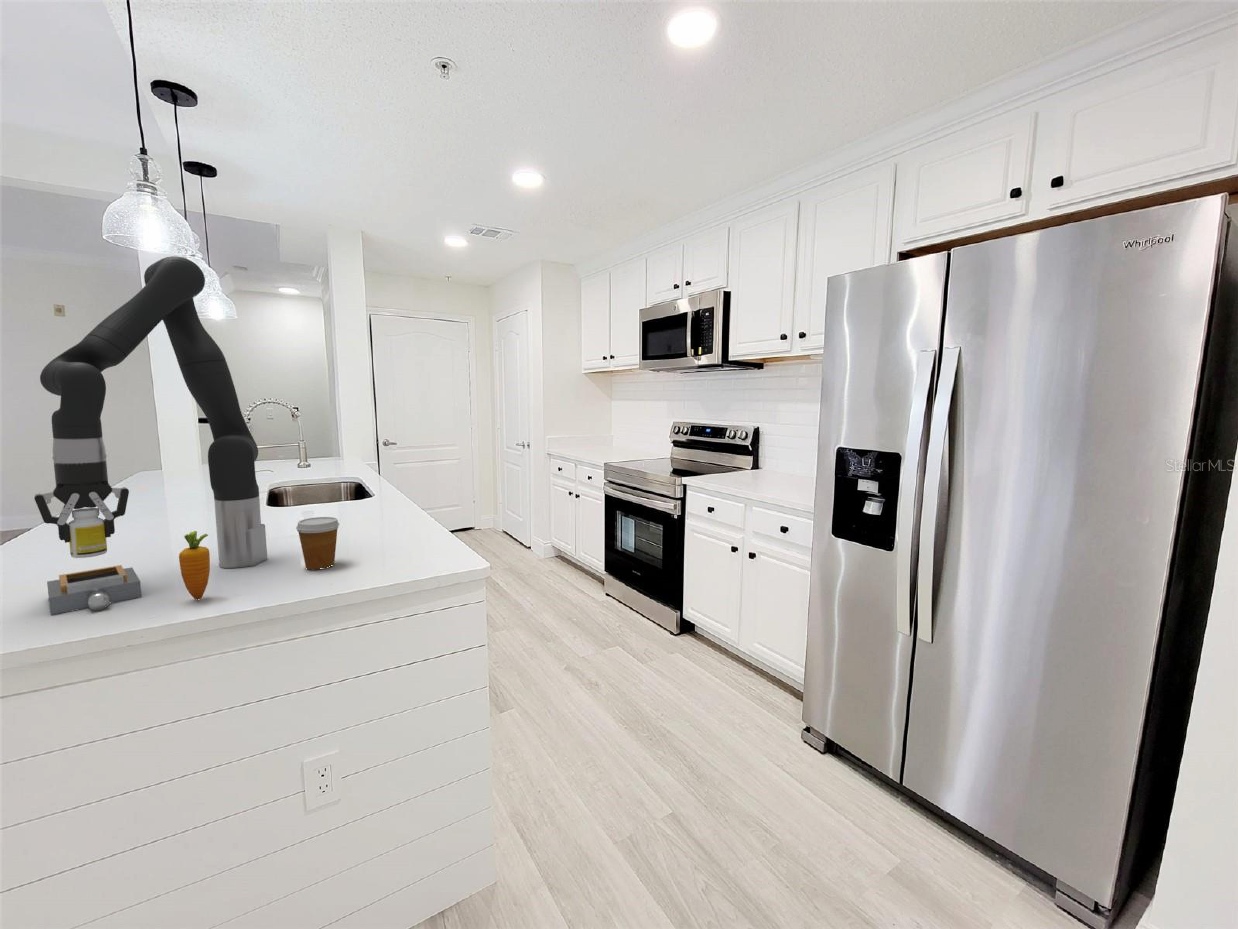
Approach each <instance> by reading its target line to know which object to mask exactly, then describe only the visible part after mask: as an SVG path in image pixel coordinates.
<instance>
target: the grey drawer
mask: <svg viewBox="0 0 1238 929" xmlns="http://www.w3.org/2000/svg"><path fill="white" fill-rule="evenodd" d="M46 586H47V593H48V595H47V596H48V604H49V611H50V612H49V614H50V616H54V615H58V614H59V613H60V614H63V613H68V611H70V612H73V611H72V610H75V611H77V610H76V609H80V610H83V609H84V610H85V609H88V608H89V609H91V610H93V611H102V610H105V609H106V608H107V607H108V606H109V605H110V604H111V603H110V602H114V603H118V602H117V601H119V602H123V601H122V600H124V601H126V600H125V599H129V600H133V598H134V599H137V598H136V597H139V598H142V597H143V596H142V595H143V594H142V585H141V580H140V578H139V577H138V575H137V573H136V571H135V569H134V568H133V567H126V568H124V567H123V565H121V564H120V565H114V566H107V567H102V568H95V569H89V570H83V571H77V572H70V573H65V574H58V579H54V580H49V581H46ZM141 596H142V597H141Z"/></svg>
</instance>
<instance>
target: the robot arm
mask: <svg viewBox="0 0 1238 929" xmlns="http://www.w3.org/2000/svg"><path fill="white" fill-rule="evenodd" d="M143 278H144V284H145V285H144V286H143V287H142V288H141V290H139V291H138V293H136V294H135V295H134V296H132V298H130V299H128V301H127V302H125V303H124V304H122V305H121V306H120V307H118V308H117V309H115V310H114V311H112V312H111V313H110V314H109V315H108V316H107V317H105V318H104V319H103V320H102V321H101V322H99V323H98V324H97V325H96V326H95V327H94V328H92V330H91V331H90V332H89V333H87V335H85V336H84V338H83V339H82V340H81V341H80V342H78V343H76V344H74V345H73V346H72V347H70V348H68V349H67V350H65V351H64V352H62V353H60V354H59V355H58V356H56V357H54V358H53V359H52V360H51V361H49V363H47V364H46V365H44V368H43V369H42V370H41V372H40V375H39V381H40V385H41V386H42V387H43V388H44V389H45V390H46V391H47V392H49V393H50V394H52V395H55V396H58V397H60V400H59V401H60V405H59V408H58V409H56V410H55V411H53V412H52V415H51V432H52V460H53V469H54V480H55V487H54V489H53V491H50V492H45V493H37V494H35V495H34V502H35V504H36V506H37V509H38V511H39V513H40V515H41V519H42V520H43V523H45V524H52V525H56V526H57V530H58V539H59V540H60V541H64V543H65V544H66V543H69V542H70V540H69V530H68V523H69V522H68V520H69V517H70V515H72V511H73V510H76V509H83V508H98V509H99V512H101V514H102V515H103V517H104V518H103V520H104V521H105V531H106V539H107V538H111V537H112V536H111V535H114V534H115V532H116V529H115V519H116V518H119V517H124V516H125V514H126V511H127V505H128V499H129V495H130V494H129V493H130V490H129V489H128V488H127V487H125V486H123V487H112V486H111V485H110V483H109V476H108V475H109V474H108V466H107V454H106V446H105V443H104V438H103V428H102V419H101V415H102V412H103V410H104V409H103V408H104V405H105V399H106V393H107V383H106V380H105V378H104V376H103V374H102V372H103V371H104V370H106V369H107V370H108V369H109V368H112V367H116V366H118V365H120V364H121V363H122V362H123V361H124V360H125V359H126V358H127V357H128V356H130V354H131V353H132V352H133V351H134V350H135V349H136V348H137V347H138V346H139V345H140V344H141V343H142V342H143V341H144V340H145V339H146V338H147V337H148V335H149V334H150V333H151V332H152V331H153V330H154V329H155V328H156V327H157V326H158V324H159V323H161V322H163V324H164V326H165V329H166V332H167V334H168V338H169V341H170V344H171V346H172V349H173V351H174V354H175V357H176V361H177V364H178V367H179V369H180V372H181V375H182V377H183V380H184V383H185V385H186V387H187V389H188V391H189V393H190V395H191V396H192V398H193V399H194V401H195V402H196V404H197V405H198V407H199V408H200V410H201V411H202V413H203V414H204V416H205V417H206V420H207V422H208V425H209V428H210V430H211V431H210V432H211V434H212V438H213V441H212V443H210V445H209V448H208V451H207V463H208V474H209V475H208V476H209V482H210V487H211V490H212V492H213V493H212V494H213V498H214V512H215V525H216V527H215V528H216V539H217V540H216V541H217V552H218V563H219V564H218V565H219V567H220V568H225V569H236V568H243V567H252V566H253V567H254V566H256V565H258V564H260V563H262V562H263V561H266V560H267V559H268V549H267V548H268V547H267V533H266V525H265V524H264V523H262V519H261V503H260V502H261V501H260V500H261V499H260V487H259V485H258V482H257V479H256V478H257V477H256V464H255V463H256V461H257V459H258V456H259V448H258V444H257V443H256V440H255V439H254V437H253V435H252V432H251V431H250V429H249V426H248V425H247V424H248V423H247V422H246V420H245V419H244V416H243V413H242V409H241V406H240V402H239V398H238V394H237V390H236V386H235V385H234V380H233V378H232V375H231V374H232V373H231V371H230V368H229V365H228V362H227V359H226V357H225V355H224V352H223V351H222V349H221V348H220V346H219V345H218V344H217V342H216V341H215V340H214V338H212V336H211V335H210V334H209V332H208V331H207V329H206V328H205V327H204V325H203V323H202V322H201V320H200V317H199V314H198V312H197V308H196V305H195V302H194V297H197V296H198V295H199V294H200V293H201V292H202V291H203V289H204V287H205V285H206V278H205V274H204V272H203V270H202V269H201V268H200V266H199V265H198V264H197V263H195V261H192V260H191V259H188V258H186V257H182V256H175V255H173V256H166V257H163V258H160V259H159V260H157V261H155V262H154V263H152V264H151V265H149V266H148V267H147V268H146V270H145V272H144V275H143ZM111 493H113V494H114V497H115V498H116V499H118V500H117V506H116V510H113V511H111V510H110V509H109V507H108V506H107V504H105V502H104V501H106V499H107V498H108V497H109V496H110V495H111ZM53 498H56V499H57V500H59V501H60V502H61V503H63V504H64V505H63V507H62V510H61V511H60V513H59V515H58V516H53V515H52V514H51V511H50V508H49V504H51V503H52V499H53Z"/></svg>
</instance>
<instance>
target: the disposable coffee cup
mask: <svg viewBox="0 0 1238 929" xmlns="http://www.w3.org/2000/svg"><path fill="white" fill-rule="evenodd" d="M339 526H340V522H339V520H338V518H337V517H333V516H318V517H310V518H304V519H301V520H299V521H297V526H295V529H296V531H297V532H298V535H299V541H300V545H301V550H302V551H301V552H302V556H303V560H304V565H305V569H306V568H307V569H306V570H308V569H311V570H310V571H313V570H312V569H320V568H327V567H329V566H331V565H334V566H335V561H336V560H335V559H336V548H337V541H338V540H337V539H338V528H339ZM327 569H328V568H327Z"/></svg>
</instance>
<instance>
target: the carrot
mask: <svg viewBox="0 0 1238 929" xmlns="http://www.w3.org/2000/svg"><path fill="white" fill-rule="evenodd" d="M208 536H209V534H207V533H203V534H202V535H201V536H200V537H199V538H197V537H198V531H197V530H194V531H190V532H189V533H187V534H185V535H183V537H184V539H185V541H186V542H187V543H188V546H189V547H187V548H184V549H183V550H182V551H181V552H180V553H179V555H178V559H179V560H178V561H179V568H180V573H181V577H182V580H183V583H184V586H185V588H186V590H187V591H188V593H189V594H190V596H192V598H193V599H194V600H196V599H197V600H196V601H199V600H198V599H200V600H201V599H202V598H203V595H204V594H205V591H206V589H207V587H208V583H209V580H210V570H211V562H210V561H211V560H210V558H211V557H210V549H209V548H208V547H207V546H201V545H200V543H201V542H202V541H203V540H204V539H205V538H206V537H208Z"/></svg>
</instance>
